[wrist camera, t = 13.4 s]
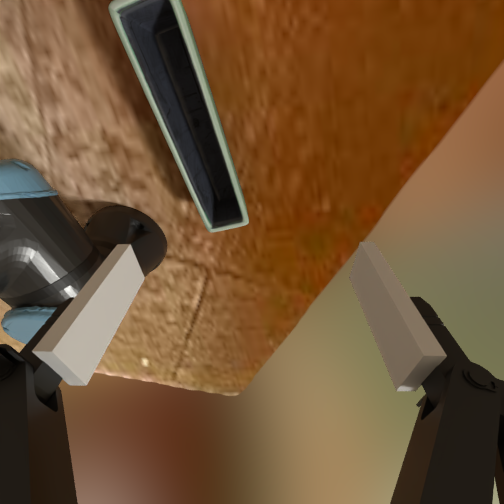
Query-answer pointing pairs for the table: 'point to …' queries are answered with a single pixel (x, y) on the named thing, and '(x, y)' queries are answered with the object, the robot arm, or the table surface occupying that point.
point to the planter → (182, 104)
